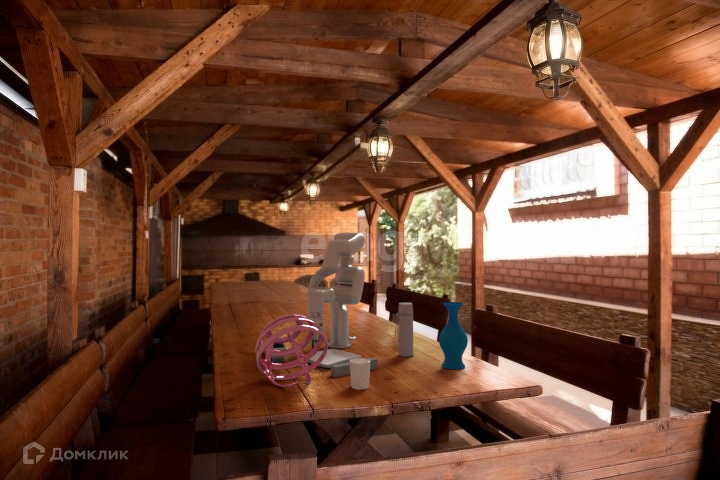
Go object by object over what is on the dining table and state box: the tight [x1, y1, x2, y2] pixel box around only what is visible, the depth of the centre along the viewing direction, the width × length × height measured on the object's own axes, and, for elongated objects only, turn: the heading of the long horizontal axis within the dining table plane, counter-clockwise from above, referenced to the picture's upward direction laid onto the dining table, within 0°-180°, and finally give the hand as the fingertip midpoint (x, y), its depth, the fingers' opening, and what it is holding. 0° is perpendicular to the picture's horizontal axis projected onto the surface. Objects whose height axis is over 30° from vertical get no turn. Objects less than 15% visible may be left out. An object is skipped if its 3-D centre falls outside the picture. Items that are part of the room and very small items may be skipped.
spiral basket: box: [254, 313, 329, 389], centre depth 183 cm, size 28×28×27 cm
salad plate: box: [304, 348, 362, 369], centre depth 215 cm, size 21×21×3 cm
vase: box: [438, 301, 469, 371], centre depth 206 cm, size 12×13×28 cm
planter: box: [268, 336, 287, 364], centre depth 225 cm, size 28×7×7 cm, turn 14°
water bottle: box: [394, 302, 414, 358], centre depth 226 cm, size 9×8×25 cm
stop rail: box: [330, 357, 379, 378], centre depth 199 cm, size 22×3×4 cm, turn 126°
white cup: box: [349, 357, 371, 391], centre depth 179 cm, size 8×8×10 cm
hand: (315, 353), depth 225 cm, fingers closed
